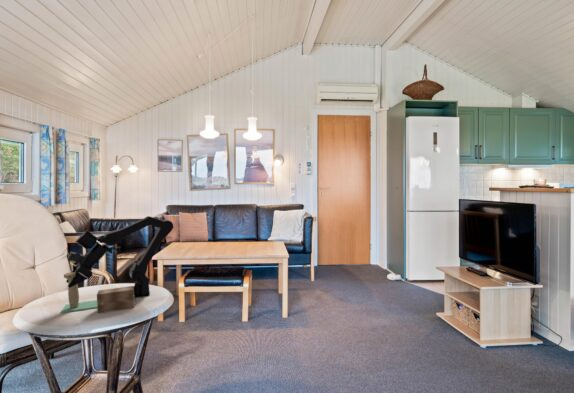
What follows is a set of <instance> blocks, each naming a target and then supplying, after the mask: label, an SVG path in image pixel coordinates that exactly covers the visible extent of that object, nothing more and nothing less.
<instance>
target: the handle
mask: <svg viewBox="0 0 574 393" xmlns="http://www.w3.org/2000/svg"><path fill="white" fill-rule="evenodd" d="M74 276H75V272H72V271H71V272H66V273H64V274H63V278H64V279H66V280H67V279H68V283H67V289H68V291H67V296H68V304H70V308H76V307H78V306H79V303H80V294H79V293H80V292H79V291H80V290H79V286H78V284H79V283H78V284H76V285H74V286H72V287H70V288H69V287H68V285H69V283H70V282H71V280H72V279H73V278H74Z"/></svg>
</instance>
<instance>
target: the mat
mask: <svg viewBox="0 0 574 393" xmlns="http://www.w3.org/2000/svg"><path fill="white" fill-rule="evenodd" d="M92 309H98V307H97V299H96V300H90V301H79V306H78V307H76V308H70V304H69V303H68V304H65V305H64V307H63V308H62V309H61V310H60V314H65V313H67V314H68V313H72V312H73V313H74V312H80V311H87V310H92Z"/></svg>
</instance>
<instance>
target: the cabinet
mask: <svg viewBox="0 0 574 393" xmlns="http://www.w3.org/2000/svg"><path fill="white" fill-rule="evenodd" d="M134 286H135V285H129V286H123V287H115V288H108V289H106V288H105V289H99V290H97V293H96V300H97V307H98V308H97V313H98V314H100V313H101V314H102V313H107V312H114V311H122V310H127V309H133V308H135V296H134Z"/></svg>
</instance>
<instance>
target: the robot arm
mask: <svg viewBox="0 0 574 393" xmlns="http://www.w3.org/2000/svg"><path fill="white" fill-rule="evenodd" d="M148 226H153V227H156V230H155V234H154V236H153V238H152V240H151V241H150V243H149V245H148V246H147V248H146V250H145V251H144V253H143V254H142V256H141V257H140V259H139V261H138V262H133V263H132V266H131V267H130V268H129V276H130V278H131V279H132V281H134V285H133V286H134V299H135V298H142V297H149V296H151V295H150V294H151V292H150V278H149V277H148V275H146V273H147V271H148V270H147V269H148V266H149V264H150V262H151V261H152V258H154V255H155V254H156V252H157V251H158V249H159V248H160V246H161V243H162V242H163V240H164V239H165V238H166V237H167V236H168V235H169V234H170V233H171V232H172V231H173V229H174V223H173V222H172V221H170V220H168V219H162V220H161V219H157V218H154V217H152V216H150V215H149V216H147V215H146V217H144V218H141V219H140V220H137V221H135V222H133V223H131V224H129V225H126V226H125V227H122V228H119V229H115V230H110V231H108V232H105V233H104V234H103V235H99V236H96V235H94V234H93V233H92V232H91V231H89V230H88V229H87V230H86V231H84V232H83V233H82V234H80V235H79V236H78V238H76V240H75V241H74V242H75V243H77V244H78V245H79V246H81V247H82V248H83V249H85V250H89V252H86V253H85V254H81V253H80V252H78V251H77V252H73V251H70V252H69V254H68V256H67V260H68V261H71V262H72V261H73V264H72V270H71V272H75V276H74V278H73V279H72V280H71V282H70V283H69V285H68V279H66V280H65V281H66V283H67V288H68V287H69V288H70V287H72V286H74V285H76V284H80V283H82V282H84V281H86V280H88V279H91V277H93V271H92V270H93V268H94V267H95V266H96V264H99V263H100V261H101V259H102V258H104V256H105V255H106V254H107V253H109V254H113V247H112V246H115V245H116V244H118V243H120V242H121V241H122V240H124V239H125V238H126V237H127V236H130V235H131V234H133V233H137V232H138V231H140V230H142V229H144V228H147V227H148ZM107 245H108V246H107ZM109 246H110V247H109Z"/></svg>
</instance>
